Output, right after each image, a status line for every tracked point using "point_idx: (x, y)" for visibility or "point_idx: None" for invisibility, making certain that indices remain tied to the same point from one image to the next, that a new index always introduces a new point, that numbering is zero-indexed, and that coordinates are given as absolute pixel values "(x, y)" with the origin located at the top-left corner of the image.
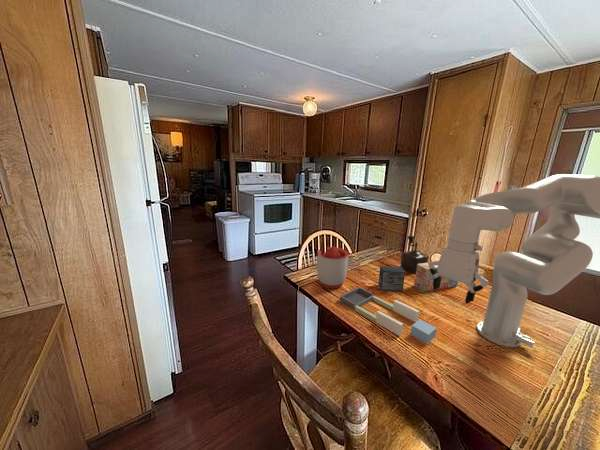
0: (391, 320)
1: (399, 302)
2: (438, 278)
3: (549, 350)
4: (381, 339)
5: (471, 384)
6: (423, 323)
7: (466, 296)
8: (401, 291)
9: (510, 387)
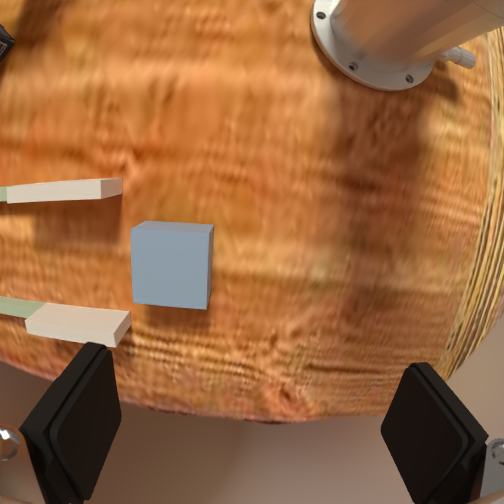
0: (79, 341)
1: (22, 193)
2: (65, 479)
3: None
4: None
5: (360, 348)
6: (155, 250)
7: (400, 471)
8: (11, 46)
9: (433, 279)
